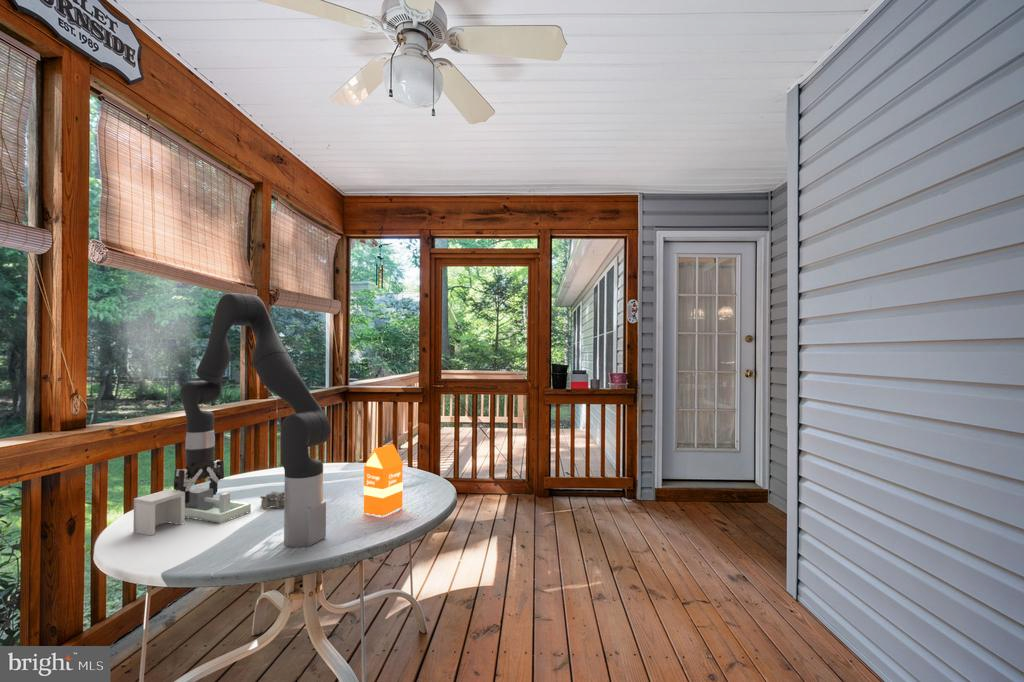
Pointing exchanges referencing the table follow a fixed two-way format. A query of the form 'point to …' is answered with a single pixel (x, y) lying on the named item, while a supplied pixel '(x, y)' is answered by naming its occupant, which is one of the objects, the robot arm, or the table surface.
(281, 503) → the egg carton
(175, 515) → the bay
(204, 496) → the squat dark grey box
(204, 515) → the tray
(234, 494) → the table surface
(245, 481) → the table surface
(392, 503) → the orange juice
